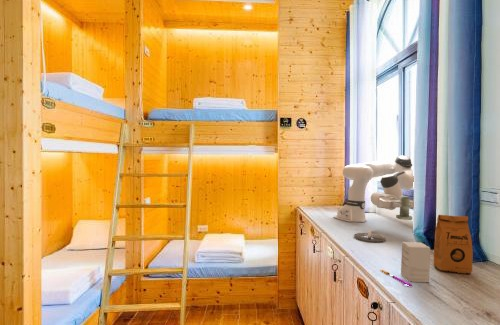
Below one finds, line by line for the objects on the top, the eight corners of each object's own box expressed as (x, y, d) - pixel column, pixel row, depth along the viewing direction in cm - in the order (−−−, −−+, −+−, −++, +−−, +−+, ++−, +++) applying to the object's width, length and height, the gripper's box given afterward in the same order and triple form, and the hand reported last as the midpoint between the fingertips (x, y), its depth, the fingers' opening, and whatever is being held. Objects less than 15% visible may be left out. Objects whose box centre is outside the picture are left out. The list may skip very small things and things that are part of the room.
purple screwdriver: (413, 287, 109) (381, 271, 125) (412, 283, 109) (381, 268, 125) (406, 289, 109) (376, 273, 124) (406, 286, 108) (375, 270, 124)
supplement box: (420, 275, 120) (421, 242, 120) (429, 283, 113) (431, 247, 113) (400, 274, 121) (401, 241, 121) (407, 281, 114) (409, 246, 113)
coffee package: (475, 277, 120) (477, 219, 120) (437, 272, 124) (440, 216, 124) (465, 268, 130) (467, 214, 130) (431, 264, 134) (433, 212, 133)
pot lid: (348, 237, 175) (348, 228, 175) (364, 233, 185) (364, 224, 185) (375, 244, 163) (376, 234, 163) (391, 239, 173) (391, 230, 173)
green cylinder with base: (393, 217, 176) (394, 196, 176) (400, 216, 181) (401, 195, 181) (408, 220, 170) (409, 197, 169) (414, 218, 175) (415, 197, 174)
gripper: (405, 207, 190) (422, 211, 176) (374, 207, 186) (389, 211, 172) (405, 196, 190) (422, 200, 176) (374, 196, 186) (389, 199, 172)
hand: (405, 205), depth 174 cm, fingers closed on green cylinder with base, 5 cm apart
